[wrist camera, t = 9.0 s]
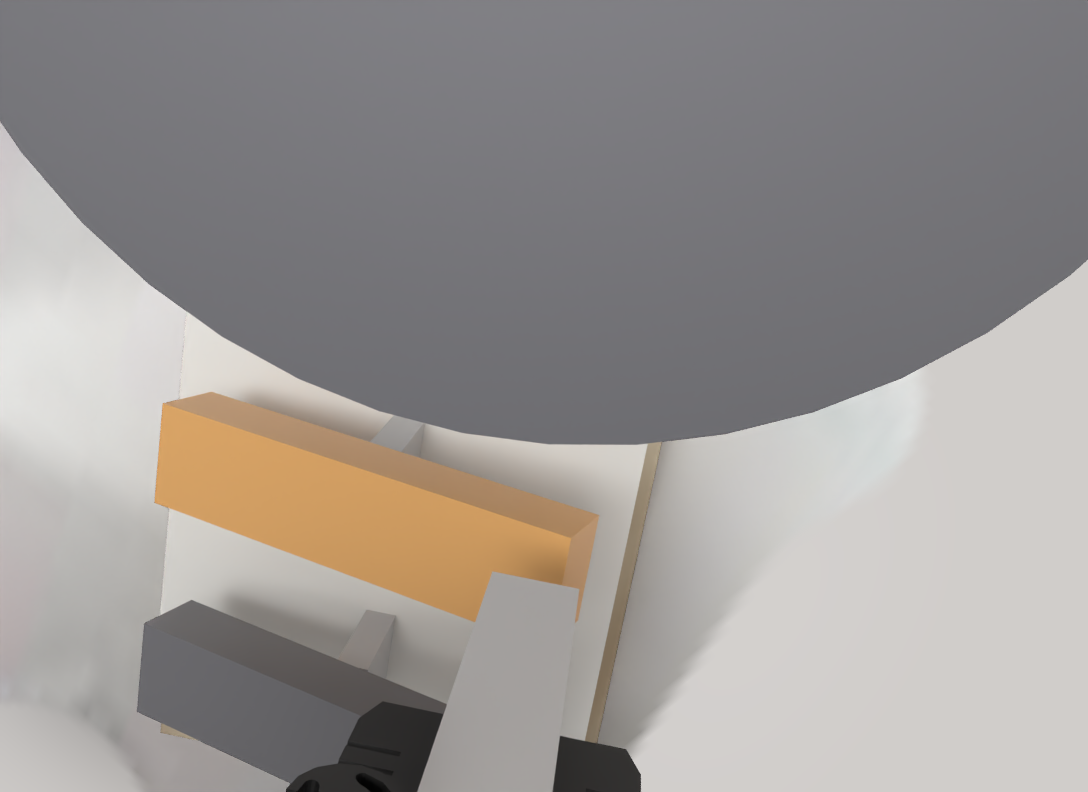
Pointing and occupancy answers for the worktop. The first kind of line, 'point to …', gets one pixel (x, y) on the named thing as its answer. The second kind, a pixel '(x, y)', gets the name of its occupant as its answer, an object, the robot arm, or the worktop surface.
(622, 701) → the worktop surface
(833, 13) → the posts
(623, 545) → the block
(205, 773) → the worktop surface
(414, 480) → the middle paddle
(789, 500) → the worktop surface
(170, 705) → the bar
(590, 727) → the board
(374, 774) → the robot arm
